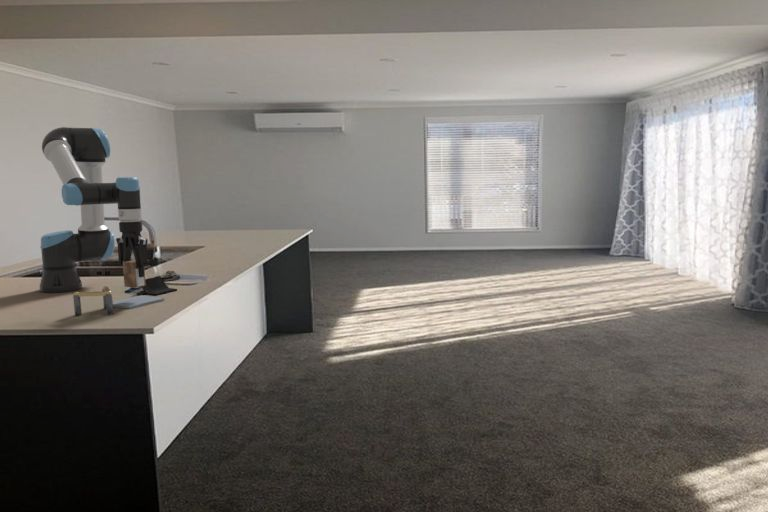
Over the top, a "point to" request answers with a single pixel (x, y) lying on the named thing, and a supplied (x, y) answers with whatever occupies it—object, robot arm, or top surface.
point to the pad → (136, 301)
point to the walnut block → (130, 274)
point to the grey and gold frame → (106, 295)
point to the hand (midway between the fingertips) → (134, 285)
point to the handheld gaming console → (156, 287)
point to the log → (170, 276)
